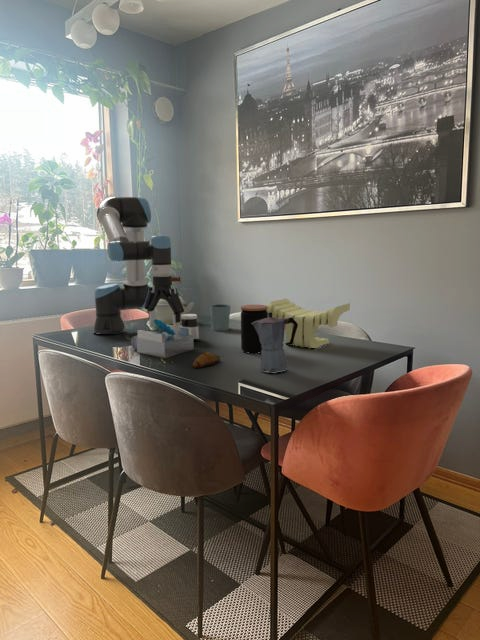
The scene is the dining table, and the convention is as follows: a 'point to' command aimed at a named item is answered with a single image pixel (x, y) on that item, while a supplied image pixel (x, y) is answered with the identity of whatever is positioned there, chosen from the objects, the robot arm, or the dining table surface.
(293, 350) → the dining table surface
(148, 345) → the storage box
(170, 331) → the blue irregular piece
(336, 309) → the beige slatted piece
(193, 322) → the spread jar
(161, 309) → the kettle
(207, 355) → the croissant
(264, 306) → the coffee jar
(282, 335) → the moka pot
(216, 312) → the teal tumbler cup
